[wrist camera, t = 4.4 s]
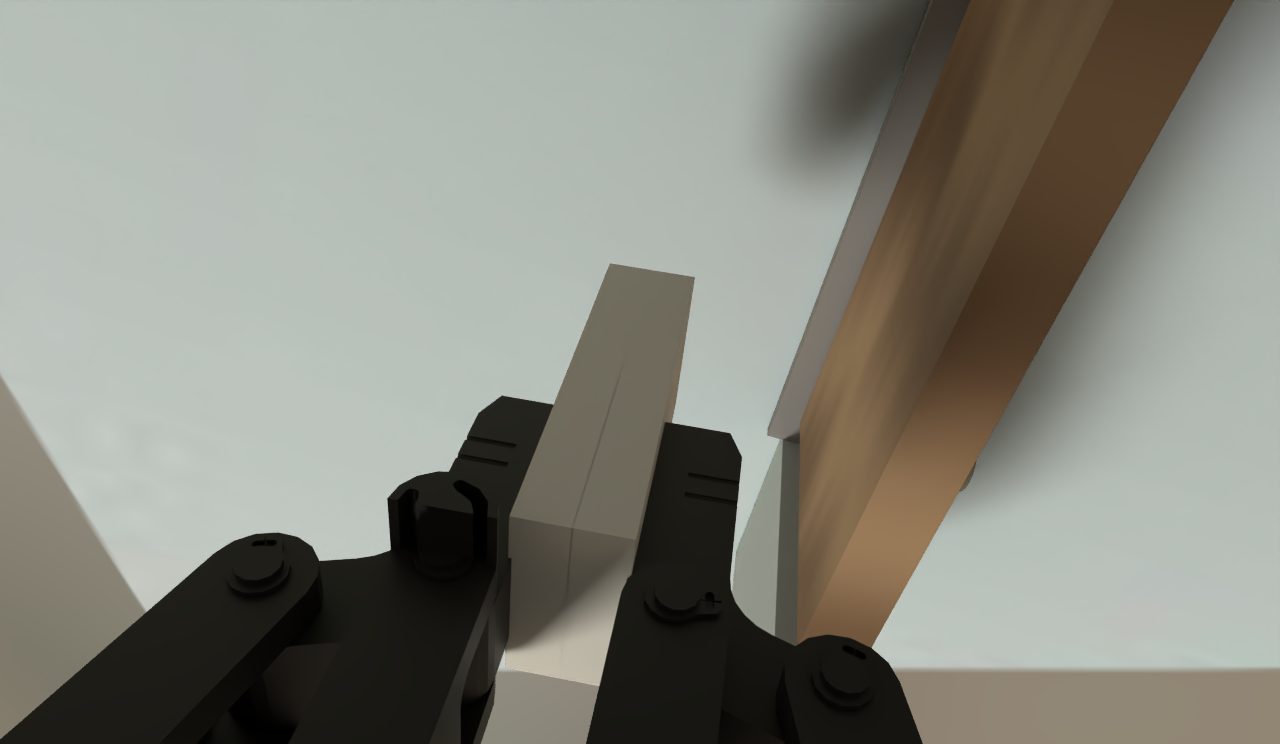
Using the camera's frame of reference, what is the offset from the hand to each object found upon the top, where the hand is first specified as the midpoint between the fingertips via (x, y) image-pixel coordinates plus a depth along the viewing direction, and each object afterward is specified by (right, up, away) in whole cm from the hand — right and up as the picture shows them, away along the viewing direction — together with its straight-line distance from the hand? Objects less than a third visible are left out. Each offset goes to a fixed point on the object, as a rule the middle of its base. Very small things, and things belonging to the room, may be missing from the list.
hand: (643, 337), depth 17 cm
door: (+7, +4, +2) cm, 8 cm away
